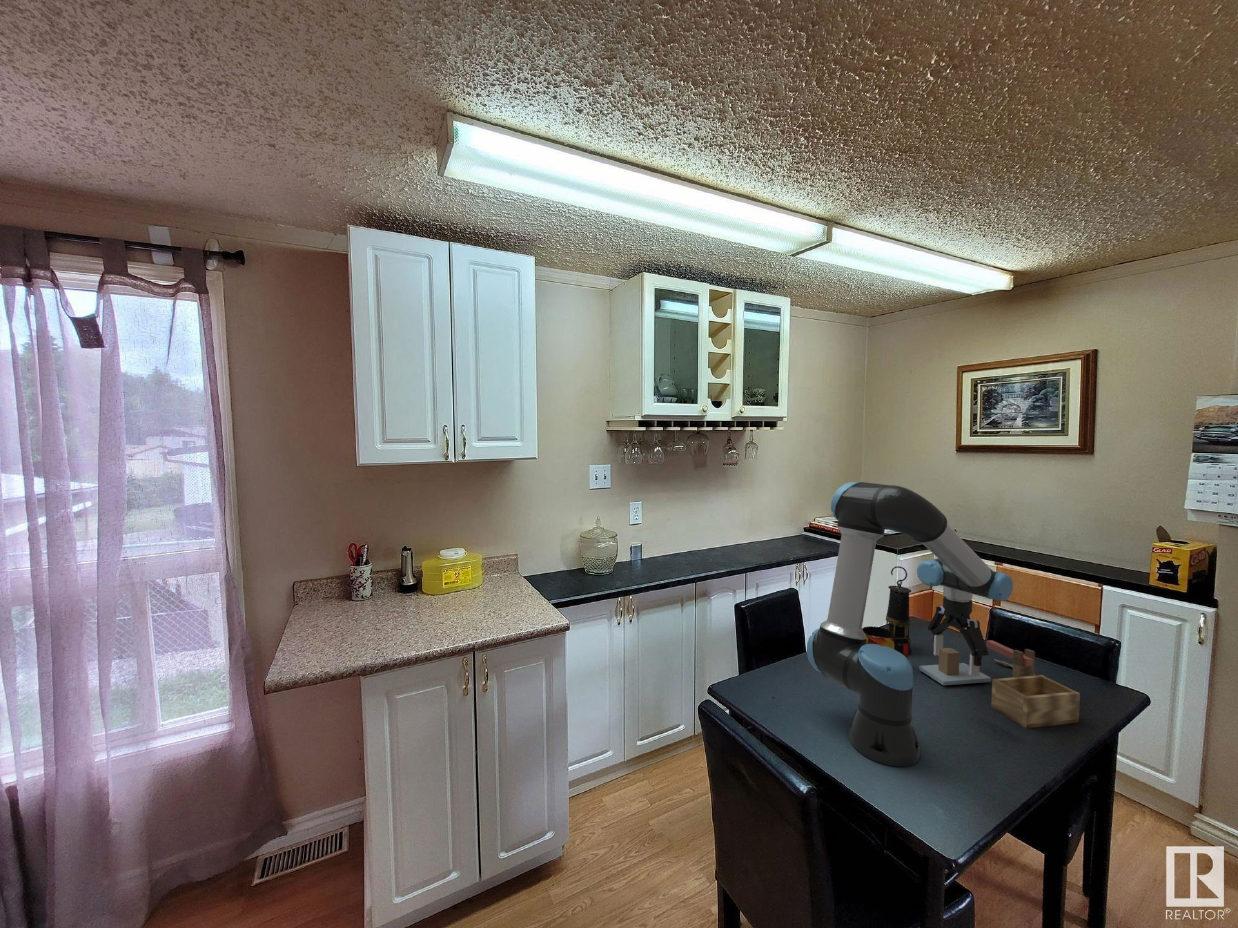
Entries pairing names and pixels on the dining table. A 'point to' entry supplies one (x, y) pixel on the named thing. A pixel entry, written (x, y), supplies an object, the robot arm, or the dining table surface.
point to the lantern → (899, 612)
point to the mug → (884, 638)
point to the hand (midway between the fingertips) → (955, 664)
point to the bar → (1007, 652)
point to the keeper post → (1018, 666)
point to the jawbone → (1006, 664)
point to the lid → (952, 670)
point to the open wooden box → (1035, 701)
